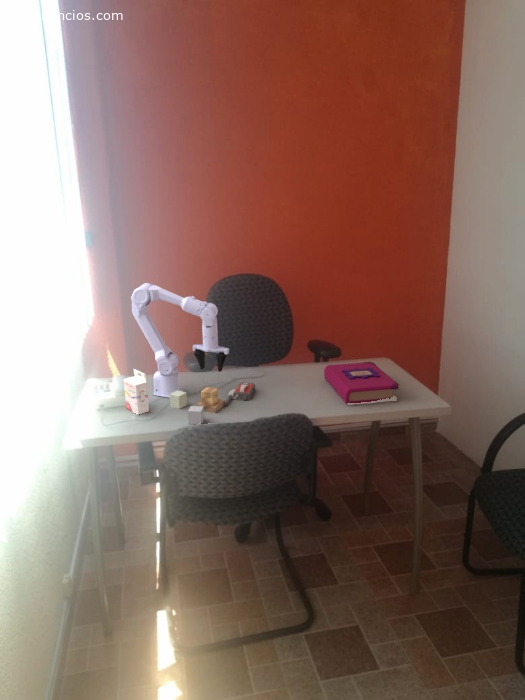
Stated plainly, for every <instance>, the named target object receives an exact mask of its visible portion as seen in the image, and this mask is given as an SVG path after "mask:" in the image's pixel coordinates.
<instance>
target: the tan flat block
mask: <svg viewBox="0 0 525 700" xmlns="http://www.w3.org/2000/svg"><path fill="white" fill-rule="evenodd" d="M225 402H226V399H222V398H218V402H217V403H216V404H214V405H213V406H210V405H204V404H202V401H201V400H200V401H199V402H198V403H196V404H195V406H204V412H206V413H212V414H213V413H214V414H216V413H218V412H219V411H220V410H221V409H222V408H224V407H225V406H226V405H225V404H224V403H225Z"/></svg>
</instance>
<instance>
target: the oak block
mask: <svg viewBox="0 0 525 700" xmlns="http://www.w3.org/2000/svg"><path fill="white" fill-rule="evenodd" d="M200 395H201V396H200V398H201V400H200V401H202V404H204V405H210V406H213V405H214V404H216V403H217V402H218V399H219V389H218V388H215V387H209V386H208V387H207V386H206V387H205V388H204V389H202V390H201V391H200Z"/></svg>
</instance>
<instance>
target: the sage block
mask: <svg viewBox="0 0 525 700" xmlns="http://www.w3.org/2000/svg"><path fill="white" fill-rule="evenodd" d="M187 396H188V395H187V392H186V391H184V392H182V391H178V390H177V391H175V392H173V393H171V394H169V397H168V398H169V407H171V408H173V409H177V410H180V409H182V408H184V407H186V406H188V397H187Z"/></svg>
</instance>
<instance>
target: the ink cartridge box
mask: <svg viewBox="0 0 525 700" xmlns="http://www.w3.org/2000/svg"><path fill="white" fill-rule="evenodd" d="M133 375H134V376H131V377H127V378H126V377H125V378H124V379H123V384H124V385H123V387H124V394H125V395H124V398H125V408H126V410H128V411H131V412H132V413H134V414H135V413H136V415H137V414H138V416H140V415H142V413H143V414H145V412H146V413H147V412H150V406H149V394H148V382H147V376H146V373H144V372H142V371H140V370H138V369H135V368H133ZM139 414H140V415H139Z"/></svg>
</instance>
